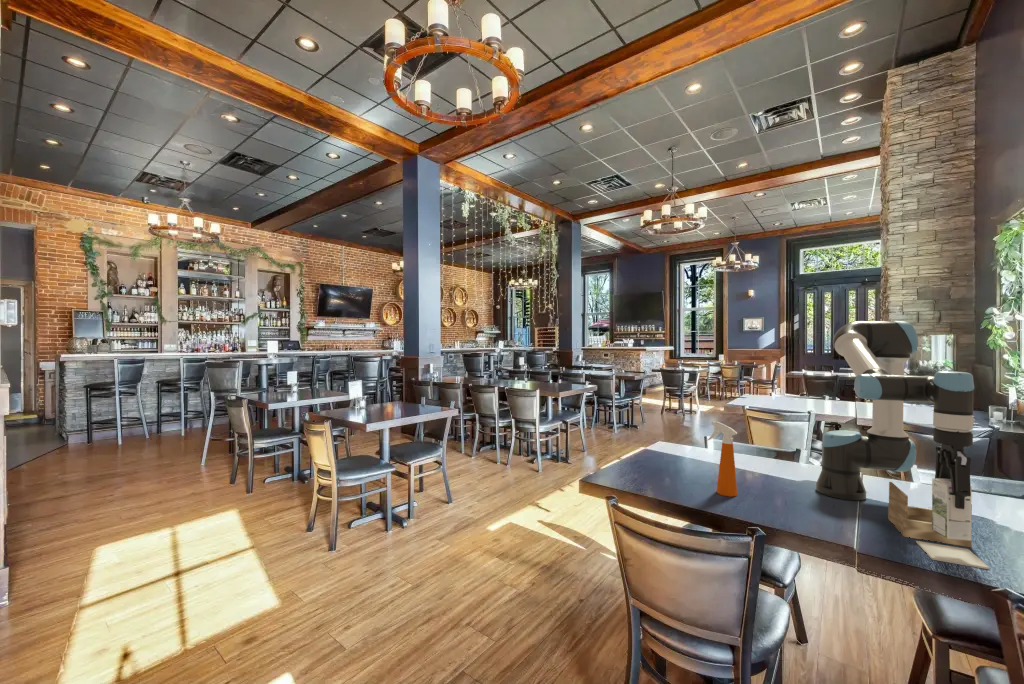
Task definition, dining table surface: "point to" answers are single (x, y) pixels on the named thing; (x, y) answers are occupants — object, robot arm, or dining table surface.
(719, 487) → the spray bottle
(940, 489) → the syrup box
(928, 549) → the mat
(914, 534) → the wooden holder
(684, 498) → the dining table surface
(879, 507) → the dining table surface
